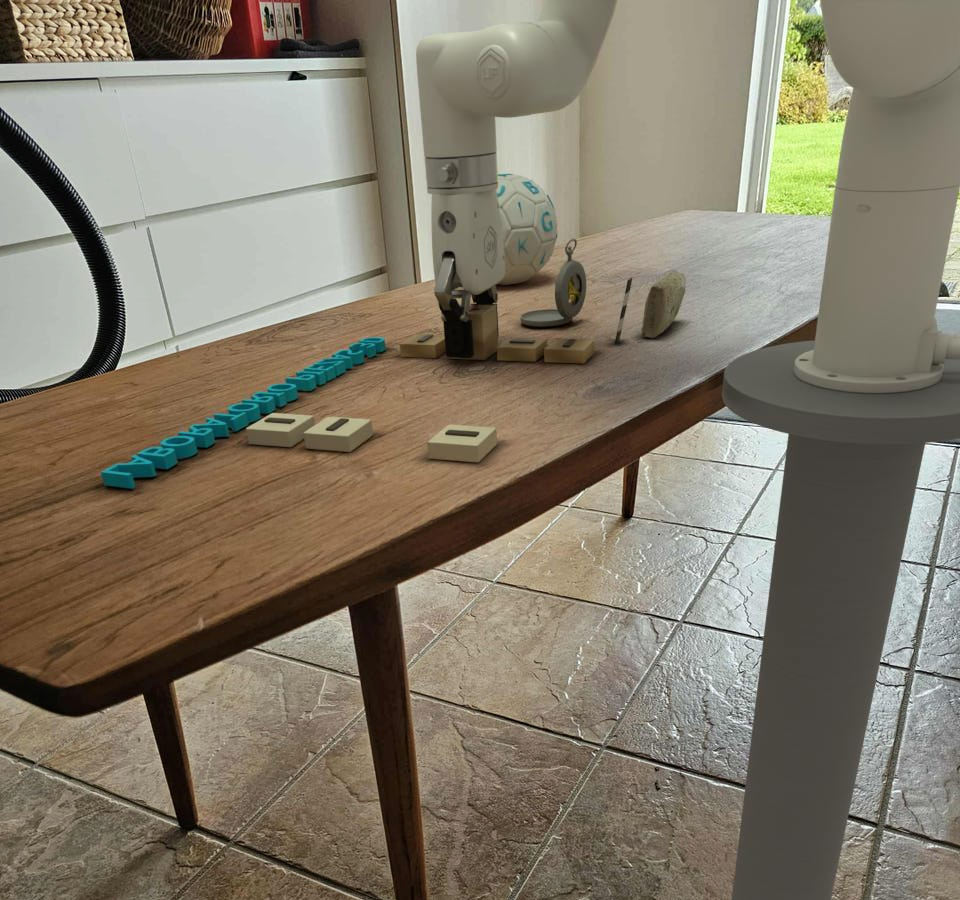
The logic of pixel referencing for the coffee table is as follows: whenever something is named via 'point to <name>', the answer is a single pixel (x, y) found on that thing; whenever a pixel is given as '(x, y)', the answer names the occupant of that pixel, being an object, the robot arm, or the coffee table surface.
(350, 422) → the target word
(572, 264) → the pocket watch
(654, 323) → the stone and scale-bar
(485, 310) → the letter block
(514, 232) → the puzzle ball
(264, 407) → the text ornament
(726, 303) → the coffee table surface
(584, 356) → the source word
